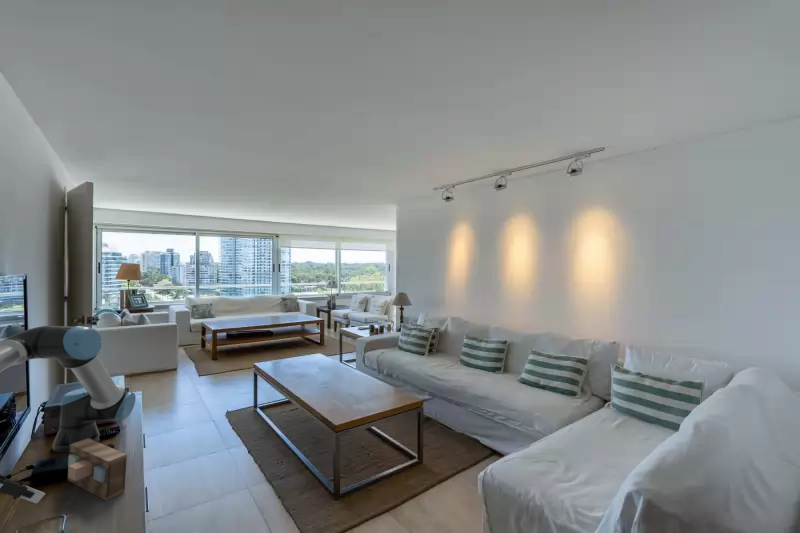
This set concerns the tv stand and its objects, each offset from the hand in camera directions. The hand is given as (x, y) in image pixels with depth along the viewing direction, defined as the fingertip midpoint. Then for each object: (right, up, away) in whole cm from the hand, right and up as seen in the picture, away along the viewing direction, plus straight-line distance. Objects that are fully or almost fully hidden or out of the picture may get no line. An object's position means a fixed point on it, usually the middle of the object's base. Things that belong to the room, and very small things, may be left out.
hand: (39, 497), depth 108 cm
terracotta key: (-2, -3, +16) cm, 16 cm away
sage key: (-8, -2, +22) cm, 24 cm away
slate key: (+7, -3, +16) cm, 18 cm away
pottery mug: (-10, -9, +33) cm, 36 cm away
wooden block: (-1, -9, +20) cm, 22 cm away
